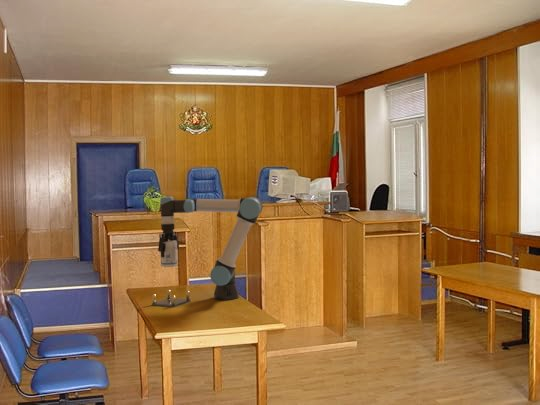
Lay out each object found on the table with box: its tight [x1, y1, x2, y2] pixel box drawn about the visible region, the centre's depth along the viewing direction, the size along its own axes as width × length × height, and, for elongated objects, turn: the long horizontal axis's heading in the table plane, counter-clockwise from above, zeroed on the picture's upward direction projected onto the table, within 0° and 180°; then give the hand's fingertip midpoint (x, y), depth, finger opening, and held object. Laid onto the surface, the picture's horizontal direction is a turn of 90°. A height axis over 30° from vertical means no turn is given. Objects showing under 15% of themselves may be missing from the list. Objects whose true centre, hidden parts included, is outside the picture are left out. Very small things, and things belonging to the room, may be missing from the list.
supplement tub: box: [160, 240, 178, 268], centre depth 356 cm, size 10×10×15 cm
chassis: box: [151, 289, 191, 308], centre depth 358 cm, size 16×16×6 cm
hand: (169, 261), depth 357 cm, fingers closed on supplement tub, 9 cm apart
